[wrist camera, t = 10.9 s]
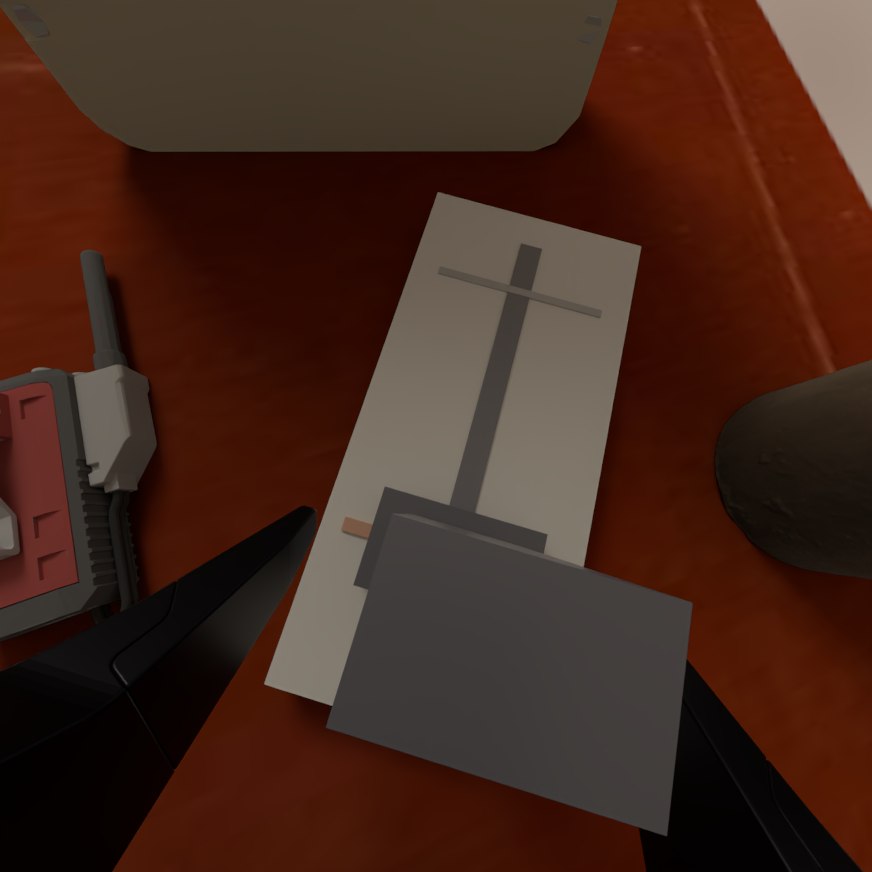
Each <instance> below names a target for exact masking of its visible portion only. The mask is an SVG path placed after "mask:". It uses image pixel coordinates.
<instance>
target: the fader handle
mask: <svg viewBox="0 0 872 872" xmlns="http://www.w3.org/2000/svg"><path fill="white" fill-rule="evenodd" d="M547 536H548V534H545V533H541V532H538V531H535V530H531V529H528V528H524V527H521V526H518V525H514V524H511V523H507V522H504V521H501V520H497V519H494V518H490V517H487V516H484V515H480V514H477V513H473V512H470V511H467V510H463V509H460V508H456V507H453V506H450V505H446V504H443V503H440V502H436V501H433V500H429V499H426V498H423V497H419V496H416V495H412V494H409V493H406V492H402V491H399V490H395V489H392V488H389V487H384V491H383V494H382V497H381V500H380V503H379V506H378V509H377V512H376V516H375V519H374V522H373V525H372V528H371V531H370V534H369V537H368V541H367V544H366V547H365V550H364V553H363V556H362V559H361V562H360V566H359V569H358V572H357V575H356V578H355V581H354V584H353V585H354V586H358V587H361V588H364V589H367V590H368V593H367V596H366V599H365V602H364V606H363V609H362V612H361V615H360V618H359V622H358V625H357V628H356V631H355V635H354V638H353V641H352V644H351V648H350V651H349V654H348V657H347V660H346V664H345V667H344V670H343V673H342V677H341V680H340V683H339V686H338V690H337V693H336V696H335V699H334V702H333V706H332V709H331V712H330V715H329V719H328V722H327V725H326V728H329V729H332V730H335V731H338V732H341V733H344V734H347V735H351V736H354V737H357V738H360V739H363V740H366V741H369V742H372V743H376V744H379V745H382V746H385V747H388V748H391V749H394V750H398V751H401V752H404V753H407V754H410V755H413V756H416V757H420V758H423V759H426V760H429V761H432V762H435V763H438V764H442V765H445V766H448V767H451V768H454V769H457V770H460V771H463V772H467V773H470V774H473V775H476V776H479V777H482V778H485V779H489V780H492V781H495V782H498V783H501V784H504V785H507V786H511V787H514V788H517V789H520V790H523V791H526V792H529V793H533V794H536V795H539V796H542V797H545V798H548V799H551V800H555V801H558V802H561V803H564V804H567V805H570V806H573V807H576V808H580V809H583V810H586V811H589V812H592V813H595V814H598V815H602V816H605V817H608V818H611V819H614V820H617V821H620V822H624V823H627V824H630V825H633V826H636V827H639V828H642V829H646V830H649V831H652V832H655V833H658V834H661V835H664V836H667V831H668V822H669V813H670V804H671V795H672V786H673V777H674V768H675V759H676V750H677V740H678V731H679V722H680V713H681V704H682V695H683V686H684V677H685V668H686V659H687V650H688V640H689V631H690V622H691V613H692V604H693V603H692V602H689V601H686V600H683V599H680V598H677V597H673V596H670V595H667V594H664V593H661V592H658V591H655V590H652V589H649V588H646V587H643V586H640V585H637V584H634V583H631V582H628V581H625V580H622V579H619V578H616V577H613V576H610V575H606V574H603V573H600V572H597V571H594V570H591V569H588V568H585V567H582V566H579V565H576V564H573V563H570V562H567V561H564V560H561V559H558V558H555V557H552V556H549V555H546V554H544V550H545V545H546V540H547Z"/></svg>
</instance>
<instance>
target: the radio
mask: <svg viewBox="0 0 872 872" xmlns="http://www.w3.org/2000/svg"><path fill="white" fill-rule="evenodd" d="M616 3H617V0H0V7H1V9H2V10H3V11H4V12H5V14H6V15H7V16H8V18H9V19H10V20H11V21H12V23H13V24H14V25H15V27H16V28H17V29H18V30H19V32H20V33H21V34H22V36H23V37H24V38H25V39H26V42H27V43H28V44H29V46H30V47H31V48H32V49H33V51H34V52H35V53H36V54H37V56H38V57H39V58H40V60H41V61H42V62H43V63H44V65H45V66H46V67H47V69H48V70H49V71H50V72H51V74H52V75H53V76H54V78H55V79H56V80H57V81H58V83H59V84H60V85H61V87H62V88H63V89H64V90H65V92H66V93H67V94H68V96H69V97H70V98H71V99H72V101H73V102H74V103H75V104H76V106H77V107H78V108H79V110H80V111H82V112H83V113H84V114H85V115H86V116H87V117H88V118H89V119H91V120H92V121H93V122H94V123H95V124H96V125H97V126H98V127H99V128H101V129H102V130H104V131H105V132H107V133H109V134H110V135H112V136H114V137H115V138H117V139H119V140H121V141H122V142H124V143H126V144H127V145H129V146H133V147H136V148H139V149H143V150H146V151H150V152H274V151H536V150H538V149H541V148H543V147H546V146H549V145H551V144H554V143H556V142H557V141H558V140H559V139H560V137H561V136H562V135H563V134H564V133H565V132H566V131H567V130H568V129H569V127H570V126H571V125H572V124H573V123H574V122H575V121H576V120H577V119H578V117H579V116H580V113H581V110H582V107H583V104H584V101H585V98H586V95H587V92H588V89H589V86H590V84H591V81H592V78H593V75H594V72H595V69H596V66H597V63H598V60H599V57H600V54H601V51H602V48H603V45H604V41H605V38H606V35H607V32H608V29H609V26H610V22H611V19H612V16H613V13H614V10H615V7H616Z"/></svg>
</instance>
